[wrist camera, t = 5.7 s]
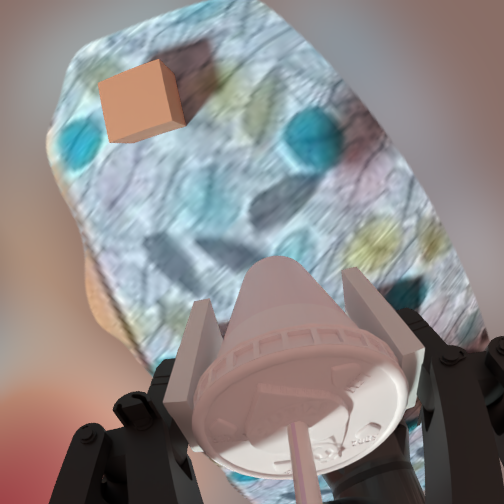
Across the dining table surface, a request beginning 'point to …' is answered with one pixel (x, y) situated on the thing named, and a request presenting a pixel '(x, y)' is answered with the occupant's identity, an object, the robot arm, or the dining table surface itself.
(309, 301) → the smoothie
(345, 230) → the dining table surface
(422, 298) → the dining table surface
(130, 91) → the terracotta block
